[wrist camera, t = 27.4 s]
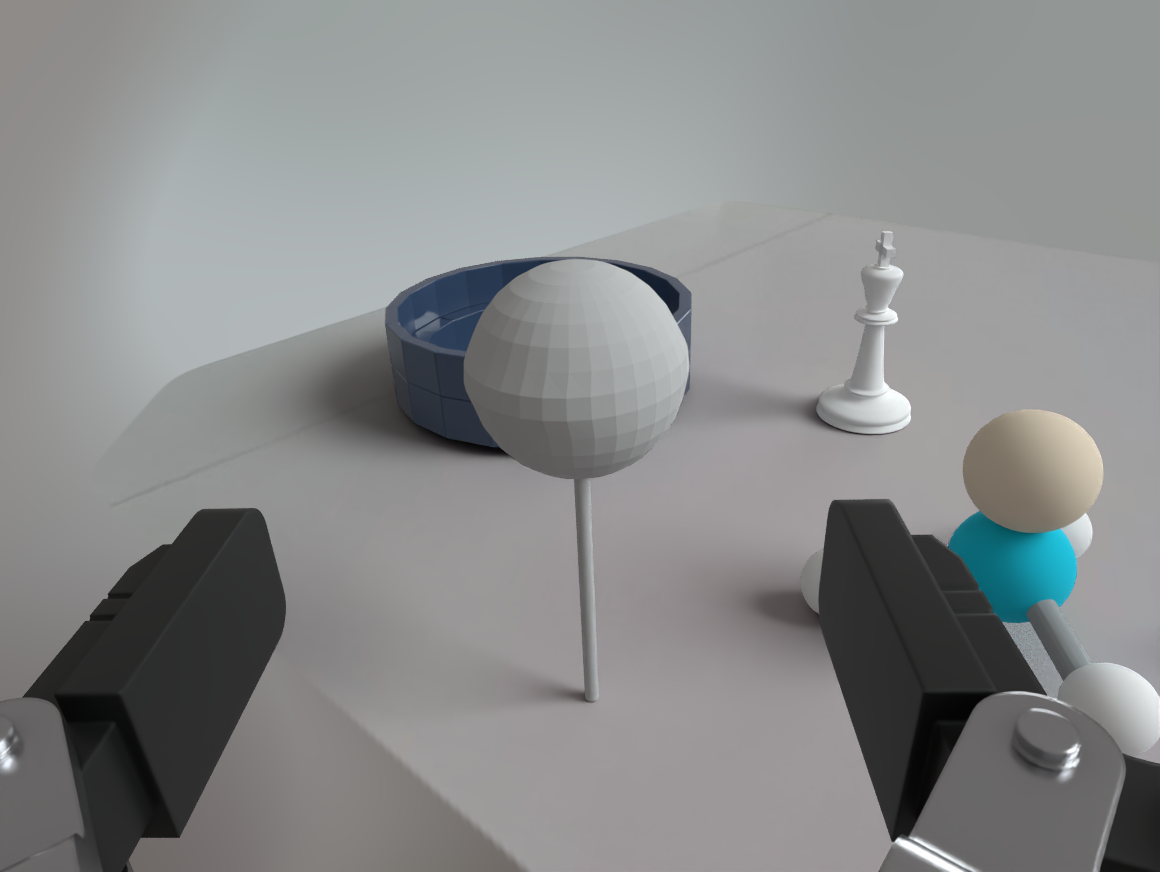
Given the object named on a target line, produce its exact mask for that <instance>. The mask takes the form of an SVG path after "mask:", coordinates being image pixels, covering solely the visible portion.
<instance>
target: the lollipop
mask: <svg viewBox="0 0 1160 872" xmlns="http://www.w3.org/2000/svg"><path fill="white" fill-rule="evenodd" d="M688 374H689V356H688V347H687V344H686V341H685V339H684V337H683V335H682V333H681V331H680V329H679V327H678V325H677V323H676V321H675V319H674V317H673V316H672V314H671V312H670V310H669V308H668V307H667V305H666V304H665V303H664V301H663V300H662V299H661V298H660V297H659V296H658V295H657V294H656V292H655V291H654V290H653V289H652V288H651V287H650V286H649V285H648V284H646V283H645V282H643V281H642V280H640V279H639V278H638V277H636V276H635V275H633V274H632V273H630V272H628V271H626V270H624V269H621V268H619V267H616V266H614V265H611V264H609V263H606V262H602V261H596V260H586V259H568V260H560V261H554V262H549V263H545V264H542V265H539V266H537V267H535V268H533V269H531V270H529V271H527V272H525V273H523V274H521V275H519V276H517V277H516V278H514V279H513V280H512V281H511V282H509V283H508V284H507V285H506V286H505V287H504V288H502V289H501V290H500V291H499V292H498V293H497V294H496V295H495V297H494V298H493V300H492V301H491V302H490V304H489V305H488V306H487V308H486V309H485V310H484V312H483V313H482V314H481V317H480V319H479V321H478V323H477V326H476V328H475V330H474V332H473V335H472V338H471V340H470V343H469V346H468V349H467V352H466V355H465V359H464V385H465V389H466V392H467V394H468V396H469V398H470V400H471V402H472V404H473V406H474V408H475V410H476V412H477V414H478V416H479V419H480V421H481V423H482V425H483V427H484V428H485V429H486V430H487V432H488V433H489V434H490V436H491V437H492V438H493V439H494V441H495V442H496V443H497V444H498V446H499V447H500V448H501V449H502V450H504V451H505V452H506V453H507V454H509V455H510V456H511V457H513V458H514V459H515V460H517V461H518V462H519V463H521V464H522V465H524V466H527V467H529V468H531V469H533V470H536V471H538V472H541V473H543V474H546V475H550V476H553V477H559V478H565V479H574V486H575V506H576V526H577V546H578V565H579V585H580V605H581V625H582V645H583V664H584V684H585V698H586V700H588V701H590V702H593V701H596V700H597V699H598V697H599V694H598V669H597V644H596V619H595V594H594V569H593V544H592V519H591V494H590V478H595V477H601V476H605V475H608V474H612V473H614V472H617V471H619V470H621V469H623V468H625V467H627V466H629V465H631V464H633V463H635V462H636V461H638V460H639V459H641V458H642V457H644V456H645V455H646V454H647V453H648V452H649V451H650V450H651V449H652V448H653V447H654V446H655V445H656V444H657V443H658V442H659V441H660V440H661V439H662V438H663V437H664V435H665V434H666V432H667V430H668V429H669V427H670V426H671V424H672V423H673V421H674V419H675V417H676V415H677V413H678V410H679V407H680V405H681V402H682V399H683V396H684V392H685V388H686V383H687V379H688Z"/></svg>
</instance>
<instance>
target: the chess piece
mask: <svg viewBox="0 0 1160 872" xmlns="http://www.w3.org/2000/svg"><path fill="white" fill-rule="evenodd" d="M893 235H894V233H893V232H892V231H882V235H881V240H876V248H875V249H876V250H877V251H878V252H879V257H878V263H877V264H874V265H869V266H866V267H865V268H863V269H862V271H861V277H862V282H863V285H864V290H865V297H866V301H867V305H868V306H866V307H864V308H860V309H858V310H857V311H856V314H855V315H854V318H855V319H856V320H857V321H858V322H860V323H863V324H865V329H864V333H863V337H862V342H861V346H860V349H859V353H858V357H857V360H856V364H855V368H854V371H853V374H852V377H851V379H849V380H847V381H846V382H845V383H844V384H840V385H836V386H833V387H830V388H828V389H826V390H825V391H824V392H822V394H821V395H820V397H819V403H818V405H817V408H816V410H817V413H818V415H819V417H820V418H821V419H822V420H824V421H825V422H826V423H828V424H830V425H832V426H834V427H836V428H839V429H842V430H846V431H850V432H855V433H862V434H884V433H890V432H894V431H898V430H900V429H902V428H904V427H905V426H907V425H908V424H909V422H910V420H911V415H910V411H911V406H910V403H909V401H908V400H907V399H906V398H905V397H904V396H903V395H901V394H900V393H898V392H896V391H894V390H892V389H889V386H888V385H887V384H886V383H885V382H884V375H883V355H884V326H887V325H892V324H894V323H896V322H897V321H898V318H897V314H896V312H894V311H893V310H890V309H889V308H888V305H889V303H890V301H891V299H892V298H893V295H894V293H895V291H896V289H897V287H898V285H899V284H900V282H901V280H902V277H903V272H902V270H901V269H899V268H898V267H895V266H892V265H890V264H889V263H890V258H895V254H896V249H895V248H894V247H893V246H892V242H893Z"/></svg>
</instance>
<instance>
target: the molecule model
mask: <svg viewBox="0 0 1160 872" xmlns="http://www.w3.org/2000/svg"><path fill="white" fill-rule="evenodd" d="M963 478H964V484H965V487H966V490H967V492H968V495H969V496H970V498H971V500H972V501H973V503H974V504H975V506H976V507H977V508H978V509H979V510H980V511H979V512H977V513H975V514H973V515H972V516H970V517H969V518H968V519H966V520H965V521H964V522H963V523H962V524H961V525H960V526H959V527H958V528H957V529H956V531H955V532H954V534H953V536H952V538H951V539H950V542H949V546H948V548H950V549H951V550H952V551H953V552H955V553H956V554H957V555H959V556H960V557H961V558H962V559H963V561H964V562H965V564H966V565H967V567H968V569H969V570H970V572H971V573H972V575H973V577H974V578H975V580H976V581H977V583H978V585H979V591H983V593H984V594H985V596H986V598H987V599H988V601H989V602H990V604H991V606H992V607H993V614H997V615H998V617H999V618H1000V620H1001V621H1002V622H1007V623H1022V622H1030V623H1031V624H1032V626H1033V628H1034V630H1035V632H1036V633H1037V635H1038V637H1039V639H1040V640H1041V642H1042V644H1043V646H1044V647H1045V649H1046V651H1047V653H1048V655H1049V656H1050V658H1051V660H1052V662H1053V663H1054V665H1055V667H1056V669H1057V670H1058V672H1059V674H1060V676H1061V678H1062V679H1063V683H1062V685H1061V687H1060V689H1059V692H1058V698H1057V699H1058V700H1060V701H1063V702H1065V703H1067V704H1069V705H1071V706H1074V707H1075V708H1077V709H1079V710H1080V711H1082V712H1084V713H1086V714H1087V715H1088V716H1090V717H1091V718H1092V719H1094V720H1095V721H1097V722H1098V723H1099V724H1100V725H1101V726H1102V727H1103V728H1104V729H1105V730H1106V731H1107V732H1108V733H1109V734H1110V735H1111V736H1112V738H1113V739H1114V740H1115V742H1116V743H1117V745H1118V746H1119V748H1120V750H1121V752H1122V753H1124V754H1126V755H1129V756H1136V755H1139V754H1141V753H1143V752H1145V751H1147V750H1148V749H1150V748H1151V747H1152V746H1153V745H1154V744H1155V743H1156V742H1157V740H1158V739H1159V737H1160V697H1159V696H1158V694H1157V692H1156V691H1155V689H1154V688H1153V687H1152V686H1151V685H1150V683H1149V682H1148V681H1146V680H1145V679H1144V678H1143V677H1142V676H1141V675H1139V674H1138V673H1136V672H1134V671H1133V670H1131V669H1128V668H1126V667H1123V666H1121V665H1117V664H1112V663H1092V662H1091V660H1090V659H1089V657H1088V655H1087V654H1086V652H1085V650H1084V648H1083V647H1082V645H1081V643H1080V642H1079V640H1078V638H1077V637H1076V635H1075V633H1074V632H1073V630H1072V628H1071V627H1070V625H1069V623H1068V621H1067V620H1066V618H1065V616H1064V615H1063V613H1062V611H1061V610H1060V608H1059V607H1060V606H1061V605H1062V604H1063V603H1064V602H1065V600H1066V599H1067V598H1068V597H1069V595H1070V593H1071V591H1072V589H1073V587H1074V584H1075V580H1076V576H1077V561H1076V559H1078V558H1079V557H1081V556H1082V555H1083V554H1084V553H1085V552H1086V550H1087V549H1088V548H1089V545H1090V543H1091V540H1092V525H1091V522H1090V520H1089V518H1088V516H1087V514H1086V512H1087V511H1088V510H1089V509H1090V508H1091V506H1092V505H1093V504H1094V502H1095V501H1096V499H1097V497H1098V494H1099V492H1100V489H1101V487H1102V481H1103V463H1102V459H1101V455H1100V452H1099V450H1098V448H1097V446H1096V444H1095V442H1094V441H1093V439H1092V438H1091V437H1090V436H1089V435H1088V433H1087V432H1086V431H1085V430H1084V429H1083V428H1082V427H1081V426H1079V425H1078V424H1076V423H1075V422H1074V421H1072V420H1070V419H1069V418H1067V417H1065V416H1062V415H1060V414H1057V413H1053V412H1049V411H1044V410H1033V409H1027V410H1018V411H1014V412H1010V413H1006V414H1004V415H1002V416H1000V417H997V418H995V419H993V420H992V421H990V422H989V423H988V424H986V425H985V426H984V427H982V428H981V429H980V430H979V431H978V433H977V434H976V435H975V436H974V437H973V439H972V441H971V442H970V444H969V446H968V447H967V450H966V453H965V456H964V461H963ZM823 551H824V549H822V550H819V551H818V552H816V553H815V554H814V555H812V556H811V557H810V558H809V560H808V561H807V562H806V564H805V566H804V568H803V570H802V574H801V589H802V594H803V596H804V598H805V600H806V602H807V603H808V604H809V606H810V607H811V608H812V609H813V610H814V611H815V612H817V613H818V614H819V603H818V596H819V583H820V575H821V567H822V559H823Z"/></svg>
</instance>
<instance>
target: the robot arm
mask: <svg viewBox="0 0 1160 872" xmlns="http://www.w3.org/2000/svg"><path fill="white" fill-rule="evenodd" d="M818 603H819V617H820V623H821V629H822V633H823V636H824V639H825V642H826V645H827V648H828V651H829V654H830V657H831V660H832V663H833V666H834V669H835V672H836V675H837V678H838V681H839V684H840V687H841V690H842V693H843V696H844V699H845V702H846V705H847V708H848V711H849V715H850V718H851V721H852V724H853V727H854V730H855V733H856V736H857V739H858V742H859V745H860V748H861V751H862V754H863V757H864V760H865V763H866V766H867V769H868V772H869V775H870V778H871V781H872V784H873V787H874V790H875V793H876V796H877V799H878V802H879V805H880V808H881V811H882V814H883V817H884V820H885V823H886V826H887V829H888V832H889V835H890V838H891V841H892V842H894V844H893V845H892V847H891V849H890V851H889V852H888V854H887V856H886V858H885V860H884V862H883V864H882V866H881V868H880V870H879V872H1160V764H1158V763H1154V762H1149V761H1146V760H1142V759H1139V758H1135V757H1132V756H1129V755H1126V754H1124V753H1122V752H1121V750H1120V748H1119V746H1118V745H1117V743H1116V742H1115V740H1114V739H1113V738H1112V736H1111V735H1110V734H1109V733H1108V732H1107V731H1106V730H1105V729H1104V728H1103V727H1102V726H1101V725H1100V724H1099V723H1098V722H1097V721H1095V720H1094V719H1092V718H1091V717H1090V716H1088V715H1087V714H1086V713H1084V712H1082V711H1080V710H1079V709H1077V708H1075V707H1074V706H1071V705H1069V704H1067V703H1065V702H1063V701H1060V700H1058V699H1055V698H1052V697H1049V696H1047V694H1046V692H1045V691H1044V689H1043V688H1042V686H1041V684H1040V683H1039V681H1038V680H1037V678H1036V676H1035V675H1034V673H1033V672H1032V670H1031V668H1030V667H1029V665H1028V663H1027V662H1026V660H1025V659H1024V657H1023V655H1022V654H1021V652H1020V651H1019V649H1018V647H1017V646H1016V644H1015V643H1014V641H1013V639H1012V638H1011V636H1010V635H1009V633H1008V631H1007V630H1006V628H1005V626H1004V625H1003V623H1002V622H1001V620H1000V618H999V617H998V615H997V614H993V607H992V606H991V604H990V602H989V601H988V599H987V598H986V596H985V594H984V593H983V591H979V585H978V583H977V581H976V580H975V578H974V577H973V575H972V573H971V572H970V570H969V569H968V567H967V565H966V564H965V562H964V561H963V559H962V558H961V557H960V556H959V555H957V554H956V553H955V552H953V551H952V550H951V549H950V548H948V547H947V546H946V545H944V544H943V543H942V542H940V541H939V540H938V539H936V538H935V537H934V536H933V535H911V534H910V533H909V531H908V529H907V527H906V525H905V524H904V522H903V520H902V518H901V516H900V515H899V513H898V511H897V509H896V507H895V505H894V504H893V502H892V501H891V500H889V499H863V500H833V501H832V503H831V505H830V508H829V512H828V518H827V526H826V535H825V543H824V551H823V559H822V567H821V575H820V583H819V596H818ZM285 615H286V601H285V594H284V590H283V586H282V582H281V578H280V575H279V571H278V567H277V563H276V559H275V556H274V552H273V548H272V544H271V540H270V537H269V533H268V529H267V525H266V522H265V519H264V517H263V515H262V513H261V512H260V511H259V510H258V509H256V508H236V509H202V510H200V511H198V512H197V513H196V514H195V515H194V517H193V518H192V519H191V520H190V522H189V523H188V524H187V525H186V527H185V528H184V529H183V531H182V532H181V533H180V534H179V536H178V537H177V538H176V539H175V541H174V542H173V543H172V544H167V545H161V546H160V547H159V548H157V549H156V550H154V551H153V552H151V553H150V554H148V555H147V556H146V557H144V558H143V559H141V560H140V561H139V562H137V563H136V564H134V565H133V566H131V567H130V568H129V569H128V570H127V571H126V573H125V574H124V575H123V576H122V578H121V579H120V580H119V581H118V582H117V583H116V585H115V586H114V587H113V588H112V590H111V591H110V592H109V593H108V599H103V600H102V602H101V603H100V604H99V605H98V606H97V608H96V609H95V610H94V611H93V612H92V614H91V615H90V621H85V622H84V623H83V625H82V626H81V627H80V628H79V629H78V631H77V632H76V633H75V634H74V635H73V637H72V638H71V639H70V640H69V642H68V643H67V644H66V645H65V646H64V648H63V649H62V650H61V651H60V652H59V654H58V655H57V656H56V657H55V659H54V660H53V661H52V662H51V663H50V664H49V666H48V667H47V668H46V669H45V670H44V672H43V673H42V674H41V676H40V677H39V678H38V679H37V680H36V682H35V683H34V684H33V685H32V686H31V687H30V689H29V690H28V691H27V692H26V693H25V695H24V696H23V697H22V698H16V699H9V700H5V701H1V702H0V872H134V871H133V869H132V867H131V864H130V862H129V858H130V856H131V854H132V852H133V851H134V849H135V847H136V845H137V843H138V841H139V840H140V838H180V835H181V833H182V831H183V829H184V827H185V826H186V823H187V822H188V820H189V818H190V816H191V814H192V812H193V810H194V808H195V806H196V804H197V802H198V800H199V798H200V796H201V794H202V792H203V790H204V788H205V786H206V784H207V782H208V780H209V778H210V776H211V774H212V772H213V770H214V768H215V766H216V764H217V762H218V760H219V758H220V756H221V754H222V752H223V750H224V748H225V746H226V744H227V743H228V741H229V738H230V736H231V735H232V732H233V730H234V729H235V726H236V725H237V723H238V720H239V719H240V717H241V715H242V713H243V711H244V709H245V707H246V705H247V703H248V701H249V699H250V697H251V695H252V693H253V691H254V689H255V687H256V685H257V683H258V681H259V679H260V677H261V675H262V673H263V671H264V669H265V667H266V665H267V663H268V661H269V659H270V657H271V655H272V653H273V651H274V649H275V647H276V645H277V644H278V642H279V639H280V637H281V635H282V632H283V628H284V623H285Z"/></svg>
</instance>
